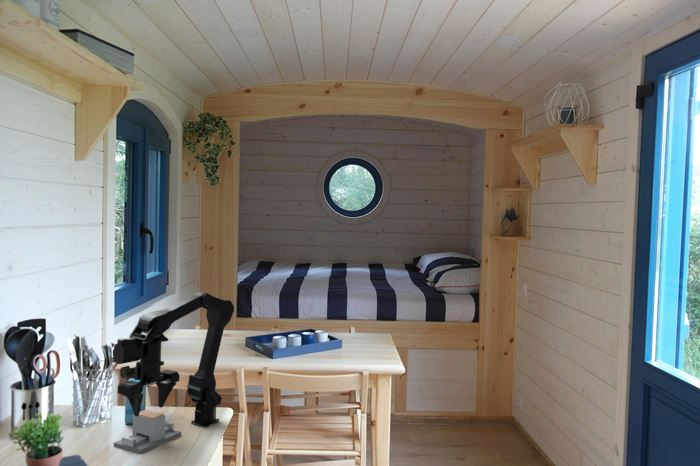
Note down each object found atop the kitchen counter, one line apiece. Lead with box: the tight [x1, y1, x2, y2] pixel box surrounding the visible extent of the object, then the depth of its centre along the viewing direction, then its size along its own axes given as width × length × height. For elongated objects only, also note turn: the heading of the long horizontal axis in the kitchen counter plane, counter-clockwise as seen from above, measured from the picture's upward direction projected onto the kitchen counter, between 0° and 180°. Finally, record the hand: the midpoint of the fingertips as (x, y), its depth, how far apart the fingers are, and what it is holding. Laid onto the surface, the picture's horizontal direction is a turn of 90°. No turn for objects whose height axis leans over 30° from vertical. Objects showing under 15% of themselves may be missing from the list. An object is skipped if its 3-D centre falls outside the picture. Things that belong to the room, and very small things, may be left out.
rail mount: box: [113, 420, 182, 455], centre depth 168 cm, size 16×10×3 cm, turn 153°
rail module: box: [132, 409, 166, 442], centre depth 168 cm, size 4×8×7 cm, turn 63°
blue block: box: [124, 378, 147, 425], centre depth 185 cm, size 12×4×12 cm, turn 12°
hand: (148, 411), depth 168 cm, fingers open, 9 cm apart
